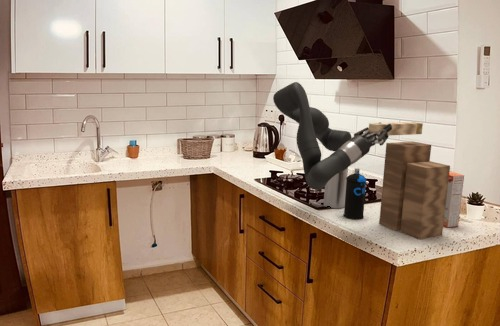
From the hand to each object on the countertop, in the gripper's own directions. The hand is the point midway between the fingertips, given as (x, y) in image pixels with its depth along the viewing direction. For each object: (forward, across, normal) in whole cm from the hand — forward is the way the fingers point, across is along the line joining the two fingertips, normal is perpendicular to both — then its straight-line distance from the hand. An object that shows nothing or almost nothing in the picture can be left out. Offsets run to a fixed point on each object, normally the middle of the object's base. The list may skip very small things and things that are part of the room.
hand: (386, 125), depth 170 cm
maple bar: (+3, 0, -6) cm, 6 cm away
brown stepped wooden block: (-8, +5, -41) cm, 42 cm away
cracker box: (+7, +3, -50) cm, 50 cm away
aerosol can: (-17, -17, -36) cm, 43 cm away
